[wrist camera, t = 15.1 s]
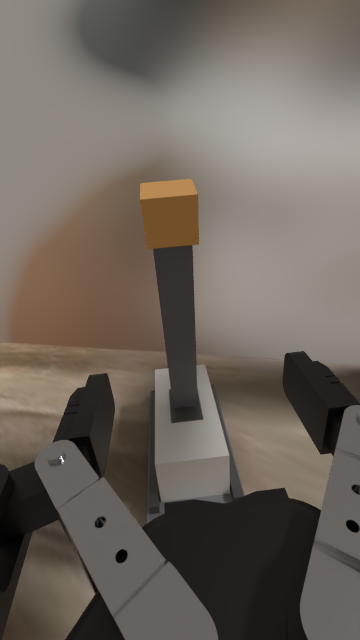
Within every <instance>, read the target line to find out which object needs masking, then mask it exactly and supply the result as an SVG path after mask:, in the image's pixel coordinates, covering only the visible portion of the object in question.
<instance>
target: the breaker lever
mask: <svg viewBox="0 0 360 640" xmlns="http://www.w3.org/2000/svg"><path fill="white" fill-rule="evenodd" d="M140 187H141V188H140V202H141V210H142V217H143V224H144V231H145V238H146V245H147V249H153V251H154V260H155V268H156V276H157V284H158V291H159V298H160V306H161V315H162V322H163V331H164V339H165V347H166V354H167V362H168V370H169V378H170V386H171V394H172V402H173V408H181V407H190V406H198V398H197V368H196V340H195V312H194V311H195V309H194V280H193V251H192V245H196V244H199V233H198V232H199V228H198V193H197V191H196V189H195V186H194V184H193V182H192V179H184V180H172V181H161V182H150V183H141V185H140Z"/></svg>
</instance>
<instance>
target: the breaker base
mask: <svg viewBox="0 0 360 640" xmlns="http://www.w3.org/2000/svg"><path fill="white" fill-rule="evenodd" d="M196 368H197V398H198V406H190V407H181V408H173V402H172V394H171V386H170V378H169V370H168V368H167V369H158V370H155V391H151V392H150V411H149V449H148V487H147V523H149V522H150V521H151V520H153V519H154V518H156V517H158V516H160V515H162V514H164V503H168V502H176V501H184V500H192V499H196V500H203V501H211V502H218V503H229V502H231V501H234V500H236V499H239V498H241V497H243V496H245V495H244V491H243V488H242V484H241V481H240V477H239V473H238V470H237V466H236V463H235V459H234V456H233V452H232V449H231V445H230V441H229V438H228V434H227V431H226V427H225V424H224V420H223V417H222V413H221V409H220V406H219V402H218V399H217V395H216V392H215V388H214V385H210V381H209V377H208V373H207V370H206V366H205V364H204V365H196Z"/></svg>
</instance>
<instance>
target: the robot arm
mask: <svg viewBox="0 0 360 640" xmlns="http://www.w3.org/2000/svg"><path fill="white" fill-rule="evenodd" d="M283 388H284V391H285V394H286V396H287V398H288V399H289V401H290V403H291V404H292V406H293V408H294V410H295V411H296V413H297V415H298V416H299V418H300V420H301V422H302V423H303V425H304V427H305V429H306V430H307V432H308V434H309V435H310V437H311V439H312V441H313V442H314V444H315V446H316V447H317V449H318V451H319V453H320V454H328V453H332V455H333V462H332V466H331V470H330V475H329V479H328V483H327V488H326V492H325V496H324V501H323V505H322V509H321V510H320V509H318V508H316V507H314V506H312V505H310V504H308V503H305V502H303V501H300V500H296V499H291V498H288V495H287V493H286V490H285V488H280V489H272V490H264V491H256V492H253V493H251V494H248V495H246V496H243V497H241V498H239V499H236V500H234V501H231V502H229V503H218V502H211V501H203V500H196V499H192V500H184V501H176V502H168V503H164V514H162V515H160V516H158V517H156V518H154V519H153V520H151V521H150V522H149V523H147V524H146V525H145V526H144V527H143V528H141V526H140V525H139V524H138V522H137V521H136V520H135V518H134V517H133V516H132V514H131V513H130V512H129V510H128V509H127V508H126V506H125V505H124V503H123V502H122V501H121V499H120V498H119V497H118V495H117V494H116V493H115V491H114V490H113V489H112V487H111V486H110V485H109V483H108V482H107V481H106V479H105V478H104V473H105V467H106V461H107V455H108V449H109V443H110V437H111V432H112V426H113V420H114V414H115V404H114V398H113V394H112V390H111V386H110V382H109V378H108V375H107V373H104V374H95V375H89V377H88V380H87V383H86V386H85V387H82V388H78V389H77V390H76V391H75V392H74V393H73V394H72V395H71V396H70V398H69V401H68V404H67V407H66V409H65V411H64V415H63V417H62V419H61V422H60V425H59V427H58V430H57V433H56V435H55V438H54V440H53V443H51V444H49V445H48V446H46V447H45V448H44V449H43V450H42V451H41V452H40V453H39V454H38V456H37V457H36V460H35V461H34V462H32V463H30V464H28V465H25V466H23V467H20V468H17V469H15V470H12V471H8V469H7V467H6V466H4V465H2V464H0V640H1V639H2V636H3V632H4V629H5V625H6V622H7V619H8V615H9V612H10V608H11V605H12V601H13V598H14V594H15V591H16V587H17V584H18V580H19V577H20V573H21V570H22V566H23V563H24V559H25V556H26V552H27V549H28V545H29V542H30V538H31V535H32V531H34V530H36V529H39V528H41V527H43V526H45V525H47V524H50V523H52V522H54V521H56V520H59V522H60V524H61V526H62V528H63V530H64V531H65V533H66V535H67V537H68V539H69V541H70V543H71V545H72V547H73V549H74V551H75V553H76V555H77V557H78V559H79V561H80V563H81V565H82V568H83V570H84V572H85V574H86V576H87V578H88V580H89V582H90V584H91V586H92V588H93V590H94V592H95V596H94V597H93V599H92V600H91V602H90V603H89V605H88V606H87V608H86V609H85V611H84V612H83V614H82V615H81V617H80V618H79V620H78V621H77V623H76V624H75V626H74V627H73V629H72V630H71V632H70V633H69V635H68V636H67V638H66V639H65V640H360V403H359V402H358V401H357V400H356V399H355V398H354V396H353V395H352V394H351V393H350V392H349V391H348V390H347V388H346V387H345V386H344V385H343V384H342V383H340V380H339V379H338V378H337V377H335V375H334V374H333V372H332V371H331V370H330V369H329V368H328V367H327V366H325V365H323V364H322V363H320V362H318V361H312V360H311V359H310V358H309V357H308V355H307V354H306V353H305V352H304V351H301V352H292V353H286V354H285V359H284V371H283Z"/></svg>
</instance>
